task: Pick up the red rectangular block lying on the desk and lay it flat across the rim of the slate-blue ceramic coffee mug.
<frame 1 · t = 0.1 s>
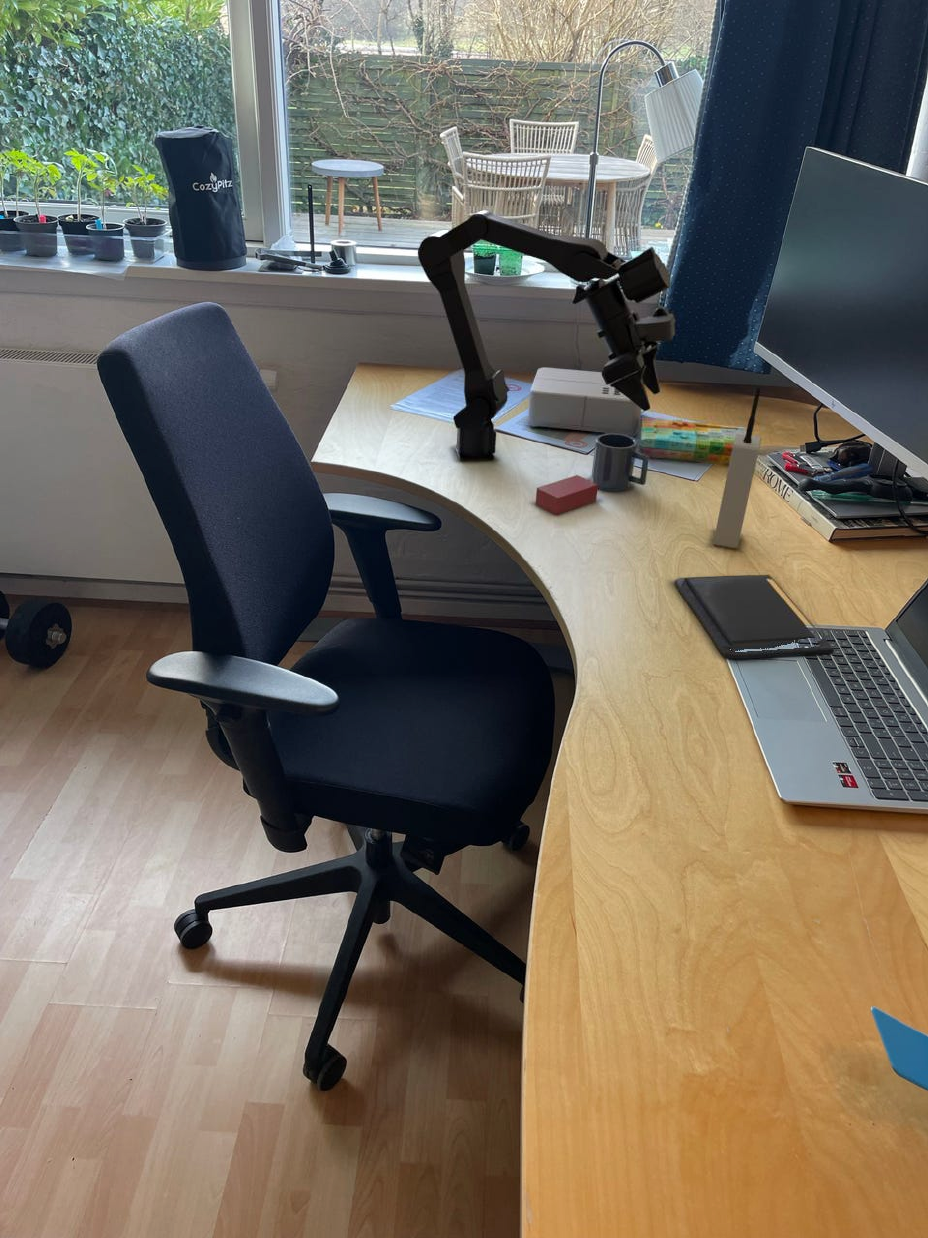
hand: (652, 401, 155), 15 cm above the table, tool tilted 35°, fingers open, 9 cm apart
wallet: (748, 617, 126), on the table
vintage mobile phone: (726, 541, 145), on the table
red rectangular block: (565, 502, 155), on the table
puzzle game: (691, 453, 177), on the table
projector: (584, 420, 190), on the table
mug: (610, 483, 163), on the table
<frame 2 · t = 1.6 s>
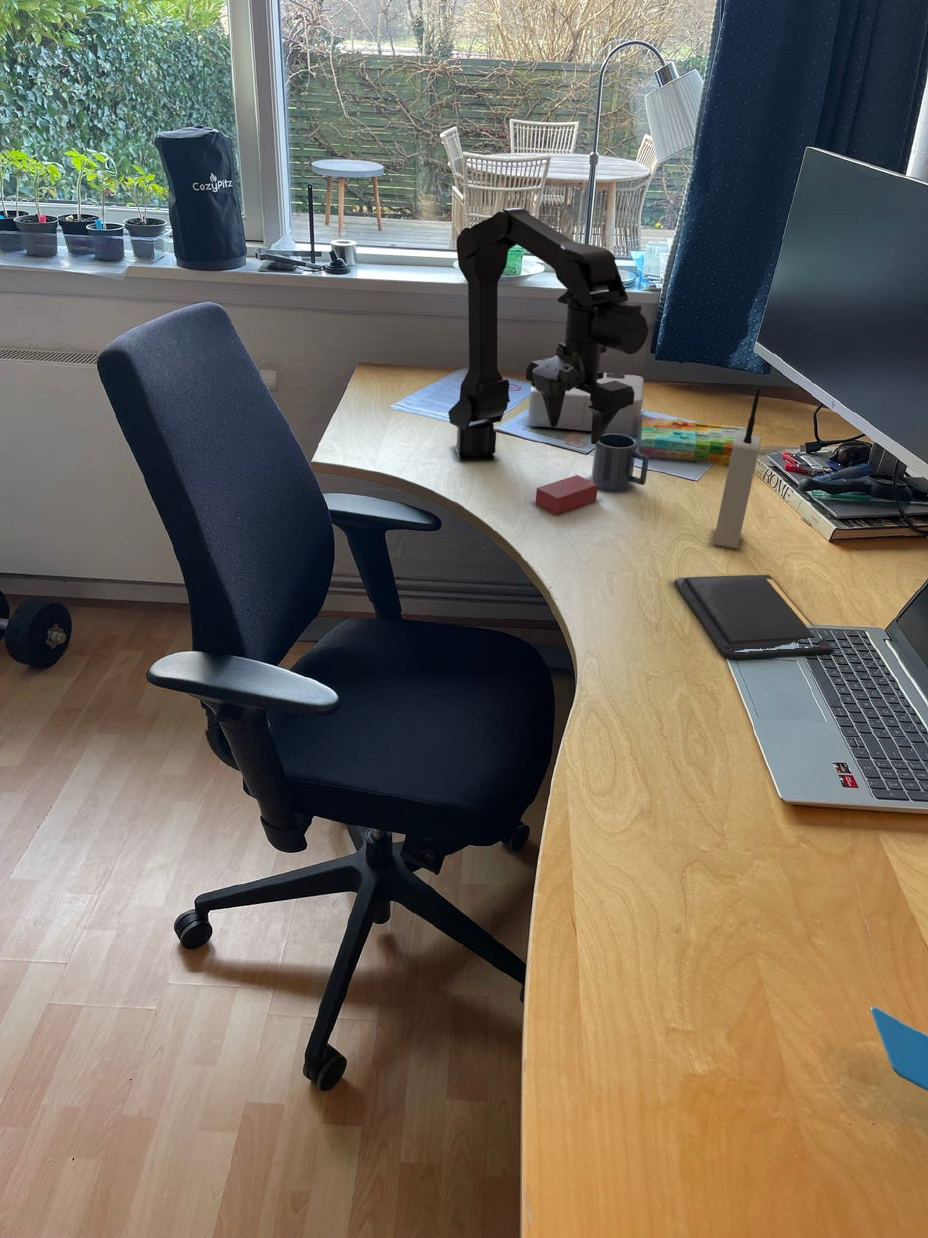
hand: (573, 435, 149), 12 cm above the table, tool pointing down, fingers open, 9 cm apart
nothing on the table moved.
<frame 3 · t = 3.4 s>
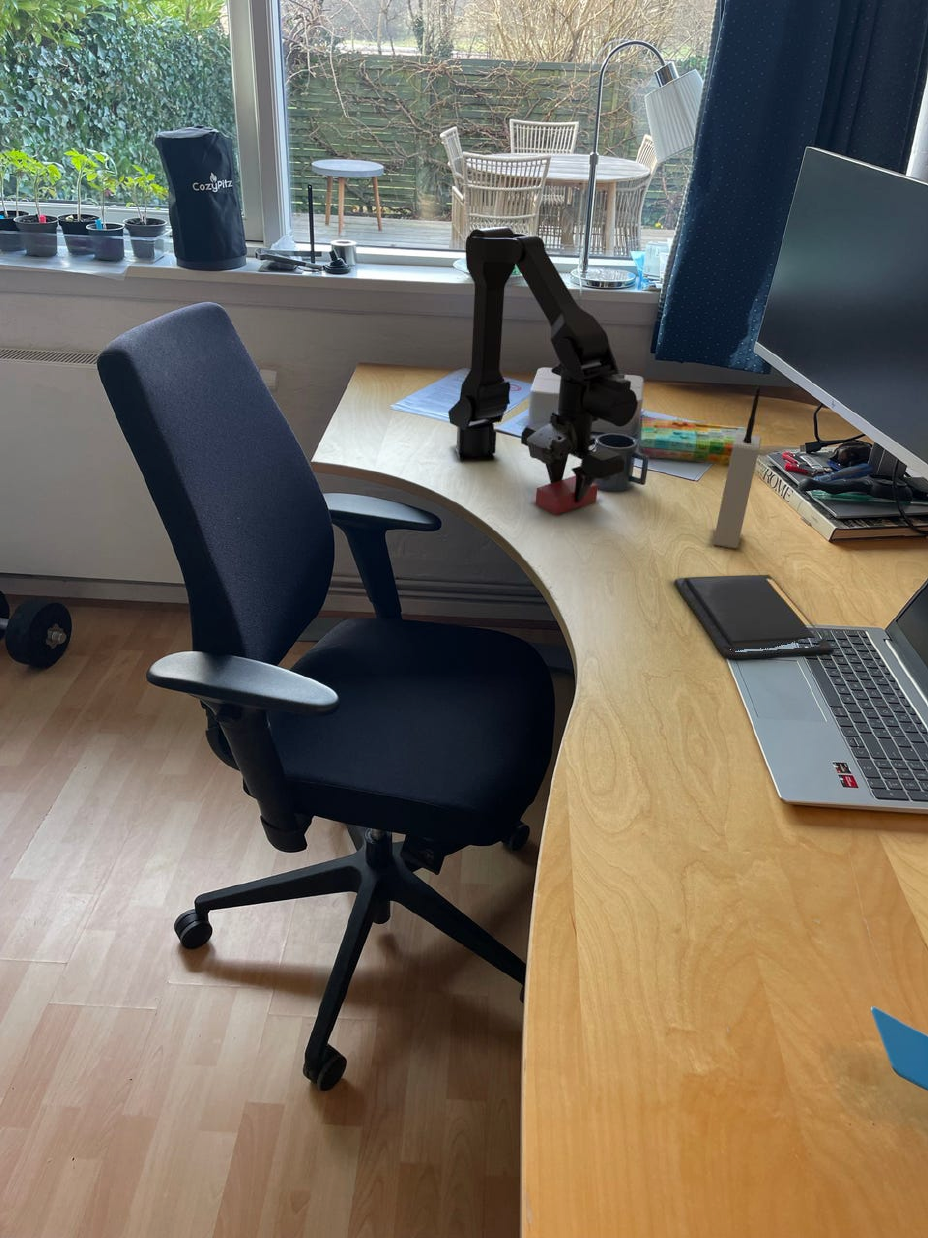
hand: (566, 496, 155), 1 cm above the table, tool pointing down, fingers closed on red rectangular block, 5 cm apart
red rectangular block: (566, 502, 155), on the table, touching gripper
everything else where it was.
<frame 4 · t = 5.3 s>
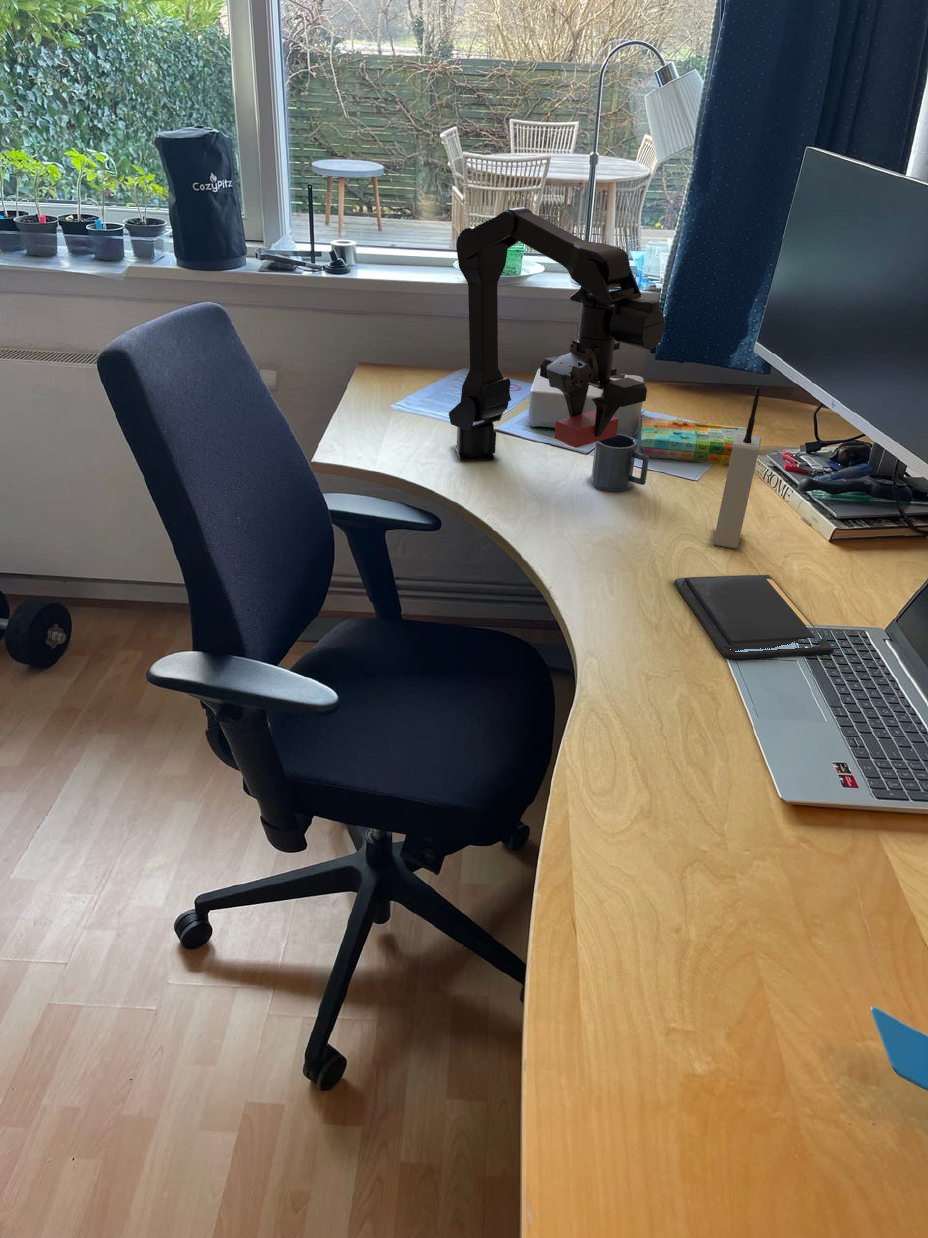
hand: (586, 431, 151), 12 cm above the table, tool pointing down, fingers closed on red rectangular block, 5 cm apart
red rectangular block: (585, 437, 151), point 11 cm above the table, touching gripper
everything else where it was.
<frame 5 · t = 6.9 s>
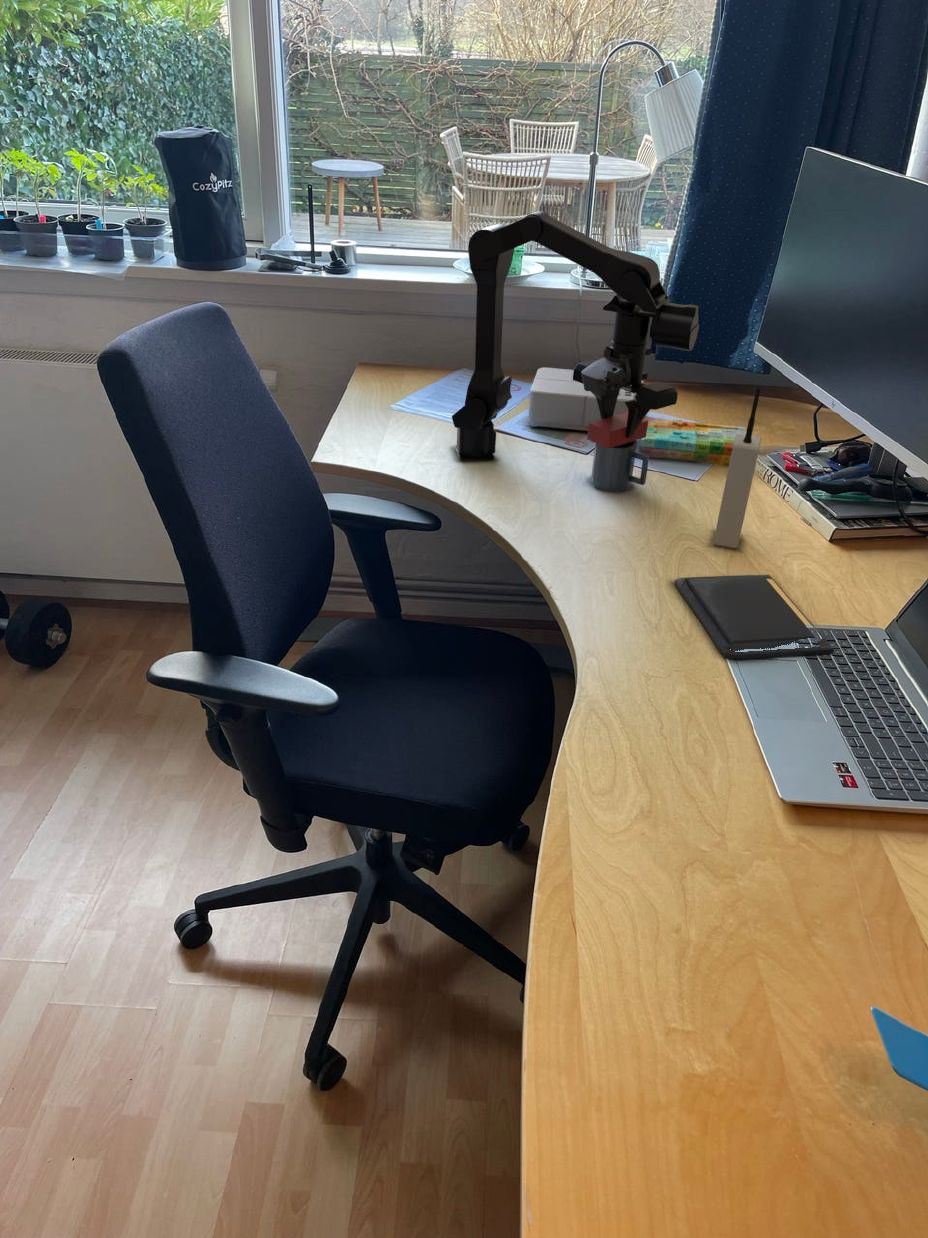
hand: (617, 432, 158), 9 cm above the table, tool pointing down, fingers closed on red rectangular block, 5 cm apart
red rectangular block: (616, 438, 158), point 8 cm above the table, touching gripper
everything else where it was.
when the fingers open (9 cm above the table, at t = 7.4 s): red rectangular block stays where it is, resting on mug.
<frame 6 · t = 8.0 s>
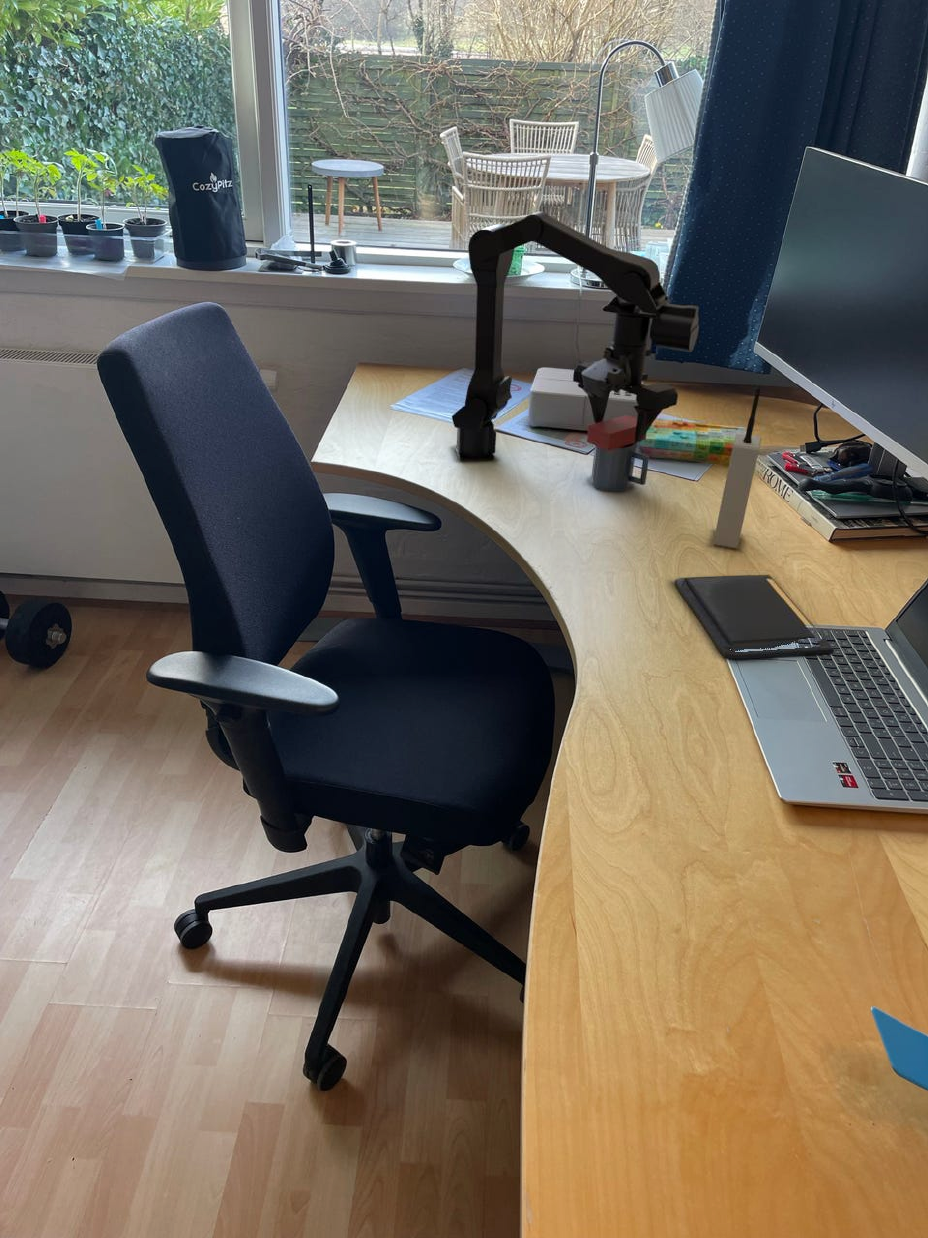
hand: (617, 433, 158), 9 cm above the table, tool pointing down, fingers open, 9 cm apart
red rectangular block: (616, 440, 158), point 8 cm above the table, touching mug
mug: (610, 483, 163), on the table, touching red rectangular block
everything else where it was.
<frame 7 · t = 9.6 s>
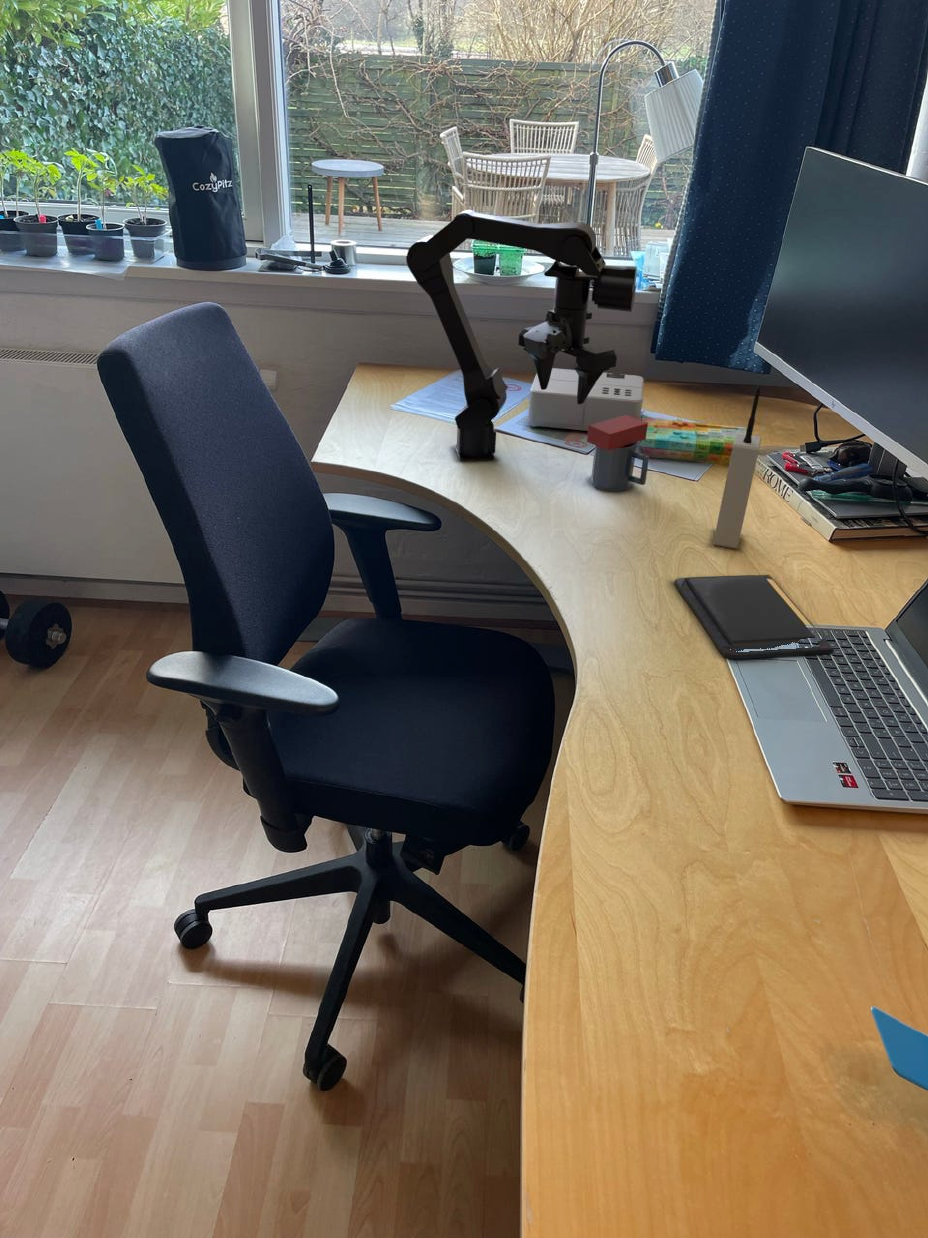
hand: (561, 396, 162), 13 cm above the table, tool pointing down, fingers open, 9 cm apart
nothing on the table moved.
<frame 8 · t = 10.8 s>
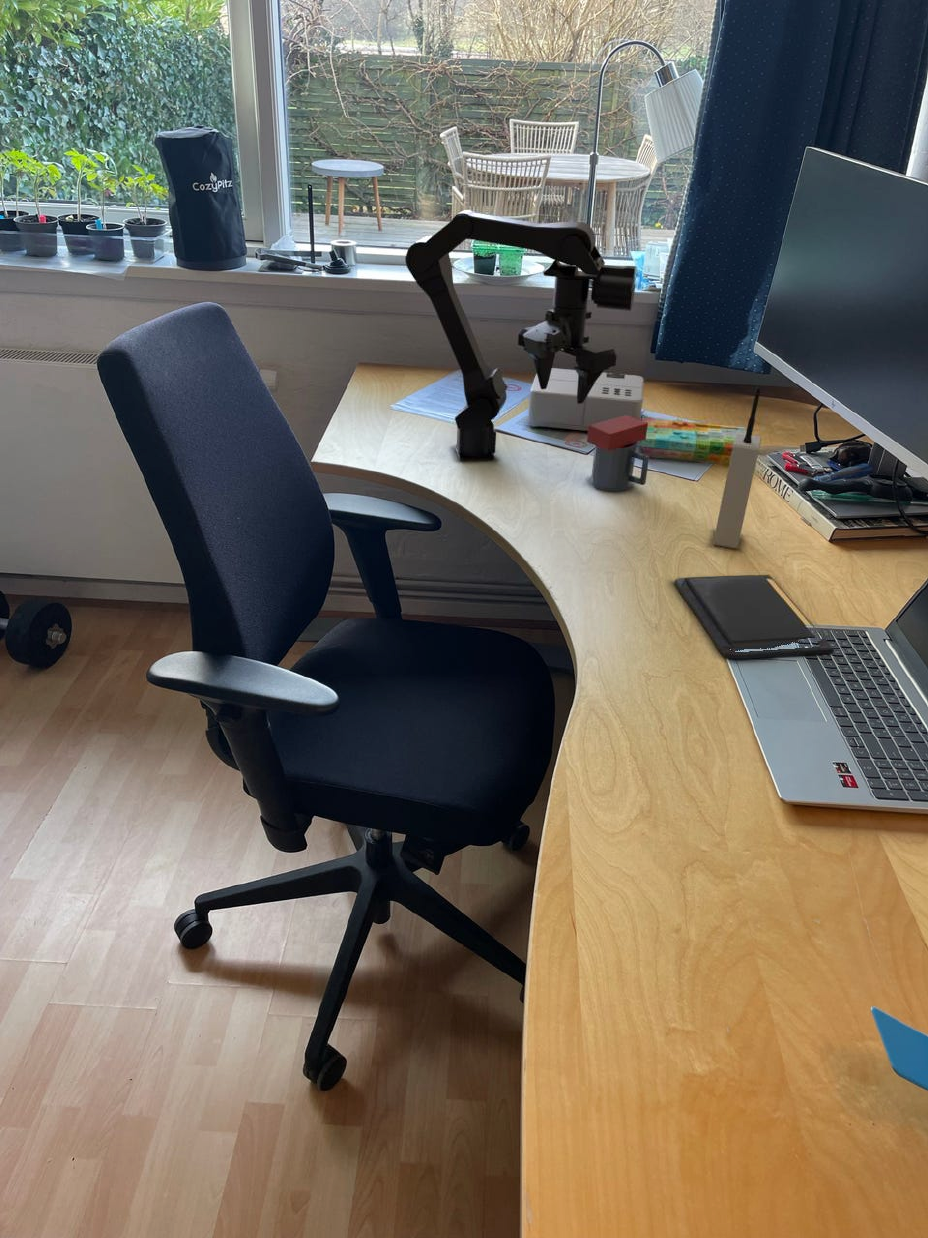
hand: (561, 395, 162), 13 cm above the table, tool pointing down, fingers open, 9 cm apart
nothing on the table moved.
at the end: red rectangular block 0.0 cm off-centre on the mug, point 8.0 cm above the mug's base; red rectangular block tilted 0°; red rectangular block touching mug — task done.
